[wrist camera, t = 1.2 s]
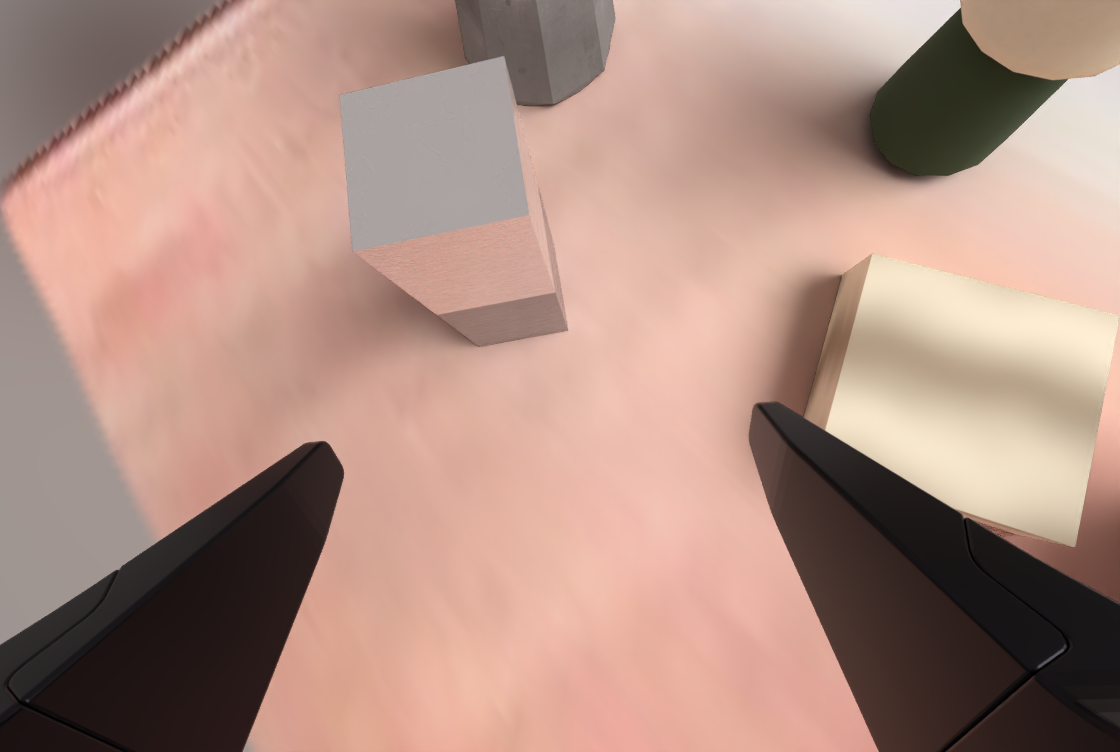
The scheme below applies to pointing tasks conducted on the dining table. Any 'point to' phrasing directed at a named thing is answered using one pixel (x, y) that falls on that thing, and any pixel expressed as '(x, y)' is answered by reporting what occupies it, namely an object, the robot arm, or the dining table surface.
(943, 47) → the character mug
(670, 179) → the dining table surface
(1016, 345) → the stand
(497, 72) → the block
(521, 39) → the coffeepot
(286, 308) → the dining table surface
